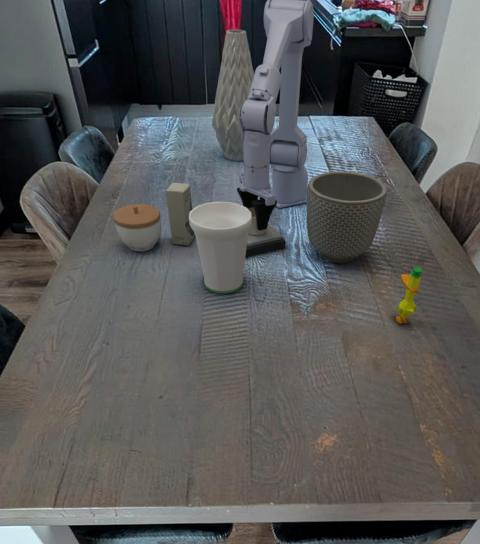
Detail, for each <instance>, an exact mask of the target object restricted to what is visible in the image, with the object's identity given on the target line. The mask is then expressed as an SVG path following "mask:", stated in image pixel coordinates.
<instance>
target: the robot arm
mask: <svg viewBox="0 0 480 544" xmlns="http://www.w3.org/2000/svg"><path fill="white" fill-rule="evenodd" d="M314 17H315V12H314V4H313V3H312V1H311V0H266V2H265V4H264V10H263V27H264V31H265V36H266V38H267V39H266V45H265V50H264V56H263V61H262V64H259V65H258V66H257V67H256V69H255V71H254V78H253V81H252V85H251V88H250V92H249V95H248V99H246V101H245V102H244V101H243V102H242V104H241V106H240V111H239V126H240V129H241V138H242V140H243V141H244V161H243V172H241V173H239V174H238V182H239V183H240V185H239V187H237V188H236V192H237V194H238V195H239V198H240V200H241V203H242V206H244V207H246V208H247V209H248V208H251V207H254V210H255V214H256V222H257V228H258V230H259V231H260V230H265V229H267V226H268V224H269V222H270V218H271V215H272V213H273V211H274V209H275V208H276V207H277V208H278V209H282V208H287V207H292V206H296V205H301V204H307V188H308V183H309V173H308V169H307V168H306V166H305V165H306V161H307V157H308V156H307V155H308V145H307V143H308V137H307V134H306V133H305V132H304V131H303V130H302V129H301V128H300V127H299V126H298V121H299V120H298V119H299V105H300V103H299V102H300V90H301V76H302V62H303V54H304V49H305V48H306V47H309V46H310V45H311V44H312V40H313V32H314V31H313V29H314ZM280 69H281V70H280ZM278 96H279V107H278V109H279V110H278V111H279V112H278V126H277V127H275V128H274V126H275V121H276V112H277V105H276V104H277V103H276V102H277V100H278ZM271 169H272V181H271V182H272V183H271V184H272V185H271V184H270V170H271Z"/></svg>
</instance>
